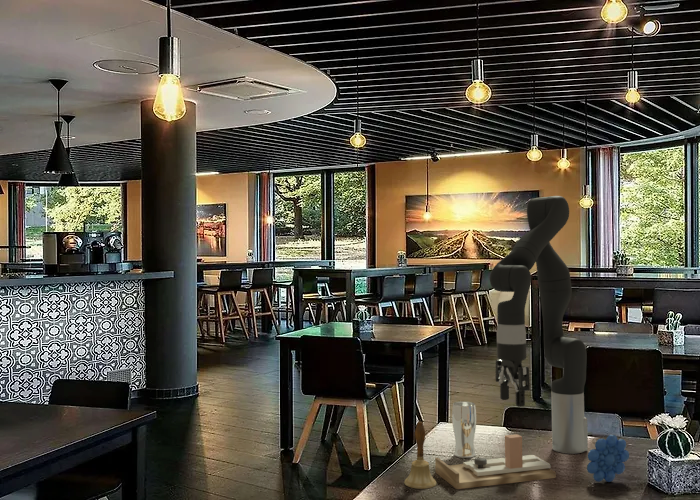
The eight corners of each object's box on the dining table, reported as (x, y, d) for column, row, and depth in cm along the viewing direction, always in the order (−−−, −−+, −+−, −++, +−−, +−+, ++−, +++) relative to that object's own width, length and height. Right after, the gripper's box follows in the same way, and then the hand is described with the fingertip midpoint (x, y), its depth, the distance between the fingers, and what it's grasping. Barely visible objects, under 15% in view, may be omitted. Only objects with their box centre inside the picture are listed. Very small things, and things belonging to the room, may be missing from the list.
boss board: (528, 462, 197) (528, 446, 197) (555, 477, 184) (555, 460, 183) (435, 472, 190) (435, 455, 190) (456, 489, 176) (456, 471, 176)
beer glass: (476, 459, 201) (475, 406, 201) (452, 458, 202) (451, 406, 202) (477, 452, 208) (476, 401, 208) (453, 451, 209) (452, 400, 209)
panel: (533, 458, 195) (532, 425, 195) (550, 468, 186) (549, 434, 186) (463, 465, 189) (462, 432, 189) (477, 476, 180) (477, 441, 180)
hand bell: (438, 479, 184) (437, 418, 184) (434, 490, 176) (433, 426, 176) (406, 477, 186) (405, 417, 186) (401, 488, 178) (400, 425, 178)
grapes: (619, 474, 185) (618, 429, 185) (634, 483, 178) (633, 435, 178) (579, 478, 183) (578, 432, 183) (592, 486, 176) (591, 439, 176)
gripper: (538, 343, 179) (539, 407, 179) (511, 337, 192) (512, 396, 192) (511, 345, 177) (512, 409, 177) (486, 338, 191) (487, 398, 191)
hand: (512, 402), depth 185 cm, fingers open, 8 cm apart
